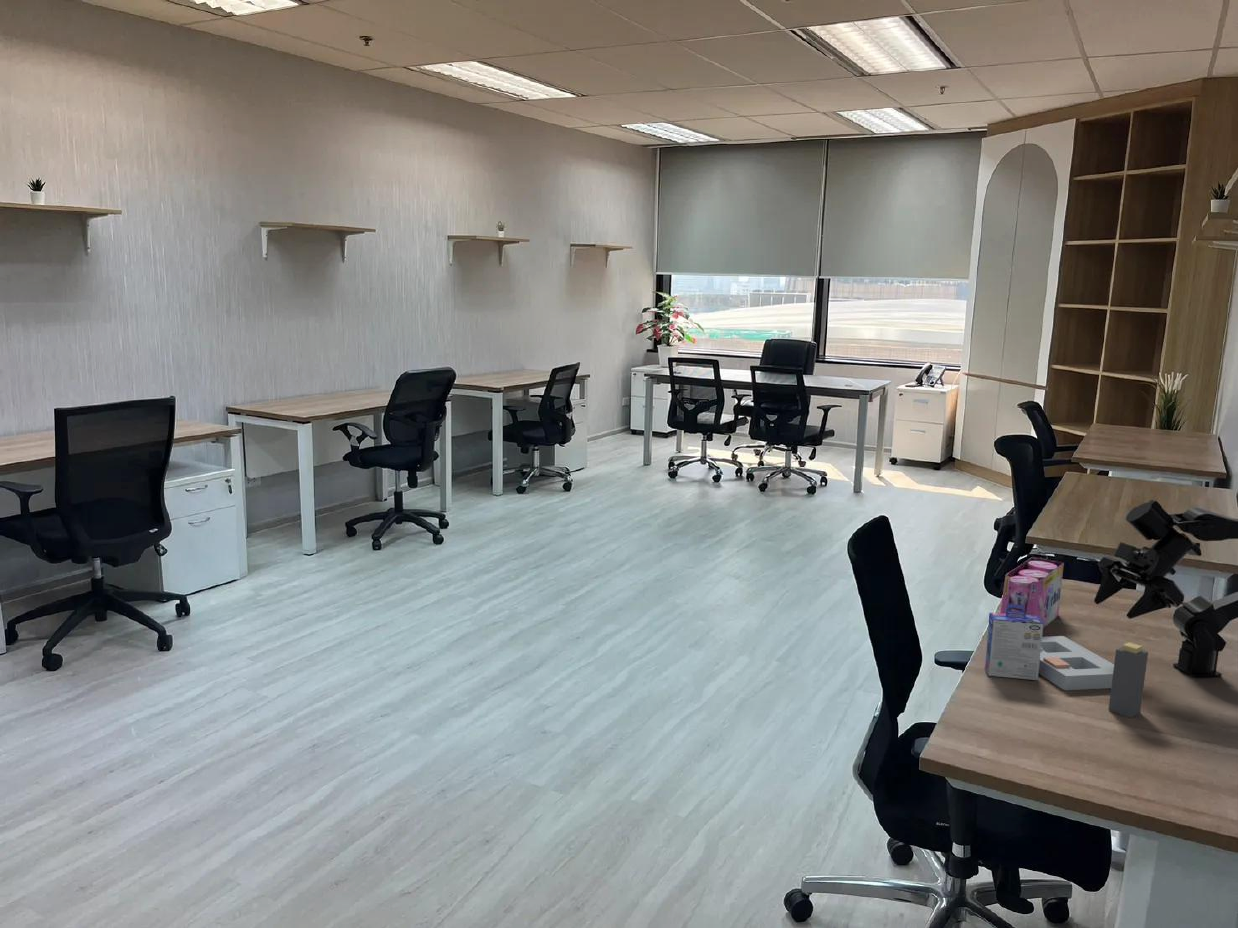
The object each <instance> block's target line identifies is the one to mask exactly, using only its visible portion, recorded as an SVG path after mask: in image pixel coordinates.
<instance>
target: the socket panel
mask: <svg viewBox="0 0 1238 928" xmlns="http://www.w3.org/2000/svg"><path fill="white" fill-rule="evenodd" d="M1113 670H1114V663H1112V662H1110V661H1109V660H1107V659H1105V658H1104V657H1101V656H1099V655H1097V654H1096V653H1094V652H1093V651H1091V650H1089V649H1087V648H1085V647H1084V646H1082V645H1080V644H1078V643H1077V642H1075V641H1073V640H1071V639H1069V638H1068V637H1066V636H1064V635H1058V636H1057V635H1054V636H1042V643H1041V653H1040V662H1039V673H1038V675H1041V676H1042V677H1043V678H1044V679H1046V680H1048V681H1049V682H1051V683H1053V684H1054V685H1055V686H1057V687H1058V688H1060V689H1062V690H1063V691H1076V690H1077V691H1081V690H1100V689H1111V686H1112V678H1113Z"/></svg>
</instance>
